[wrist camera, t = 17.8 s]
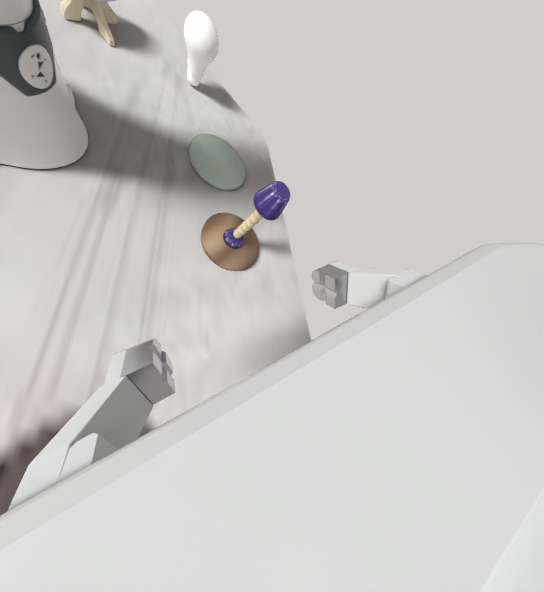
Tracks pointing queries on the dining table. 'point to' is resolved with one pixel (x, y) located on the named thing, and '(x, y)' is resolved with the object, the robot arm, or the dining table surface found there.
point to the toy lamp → (260, 211)
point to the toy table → (102, 12)
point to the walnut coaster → (218, 247)
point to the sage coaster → (216, 162)
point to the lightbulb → (199, 44)
